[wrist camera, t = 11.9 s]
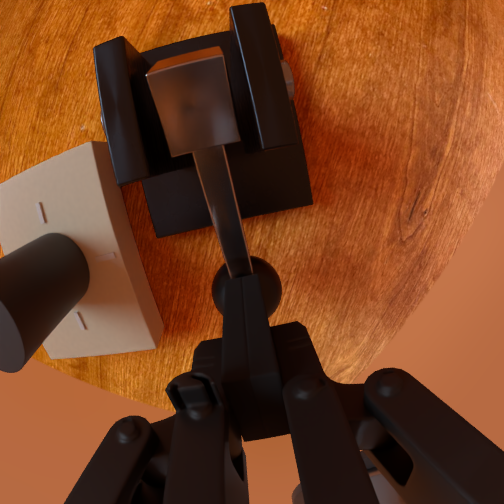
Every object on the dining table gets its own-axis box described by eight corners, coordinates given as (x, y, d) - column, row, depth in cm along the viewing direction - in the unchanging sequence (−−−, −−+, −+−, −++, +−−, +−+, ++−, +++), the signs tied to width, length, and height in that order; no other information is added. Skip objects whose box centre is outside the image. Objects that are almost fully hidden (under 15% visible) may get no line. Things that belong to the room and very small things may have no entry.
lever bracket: (308, 201, 20) (396, 259, 9) (161, 233, 20) (88, 323, 9) (271, 32, 16) (313, -78, 5) (125, 66, 16) (27, -4, 5)
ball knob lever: (277, 278, 18) (290, 329, 16) (218, 290, 18) (223, 343, 16) (238, 40, 9) (254, 51, 6) (140, 65, 9) (115, 87, 6)
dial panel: (164, 326, 22) (156, 350, 19) (65, 340, 22) (49, 360, 19) (110, 141, 18) (90, 140, 15) (9, 185, 18) (-15, 191, 15)
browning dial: (75, 224, 16) (-11, 273, 8) (100, 297, 18) (39, 377, 10) (22, 241, 16) (-59, 289, 8) (46, 307, 18) (-17, 375, 10)
